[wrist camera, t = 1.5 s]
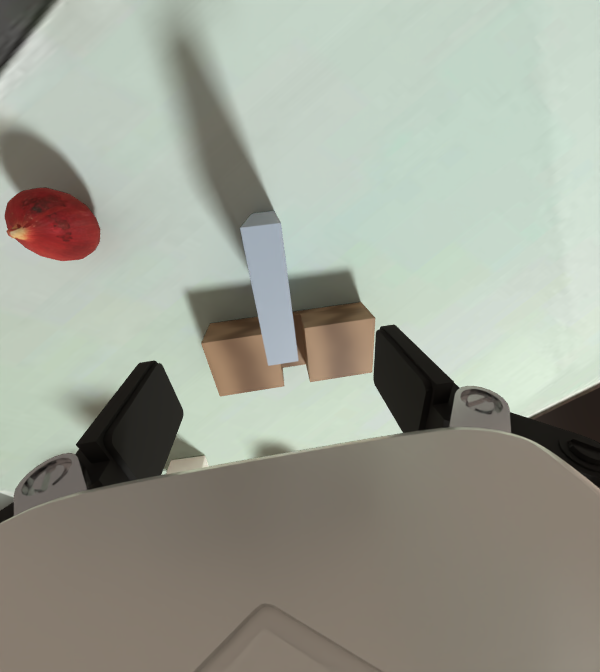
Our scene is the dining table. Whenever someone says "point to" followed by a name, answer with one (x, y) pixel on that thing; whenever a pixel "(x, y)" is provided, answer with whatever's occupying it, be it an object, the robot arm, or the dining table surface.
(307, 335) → the slotted base
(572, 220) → the dining table surface
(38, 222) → the red pomegranate
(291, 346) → the grey block
